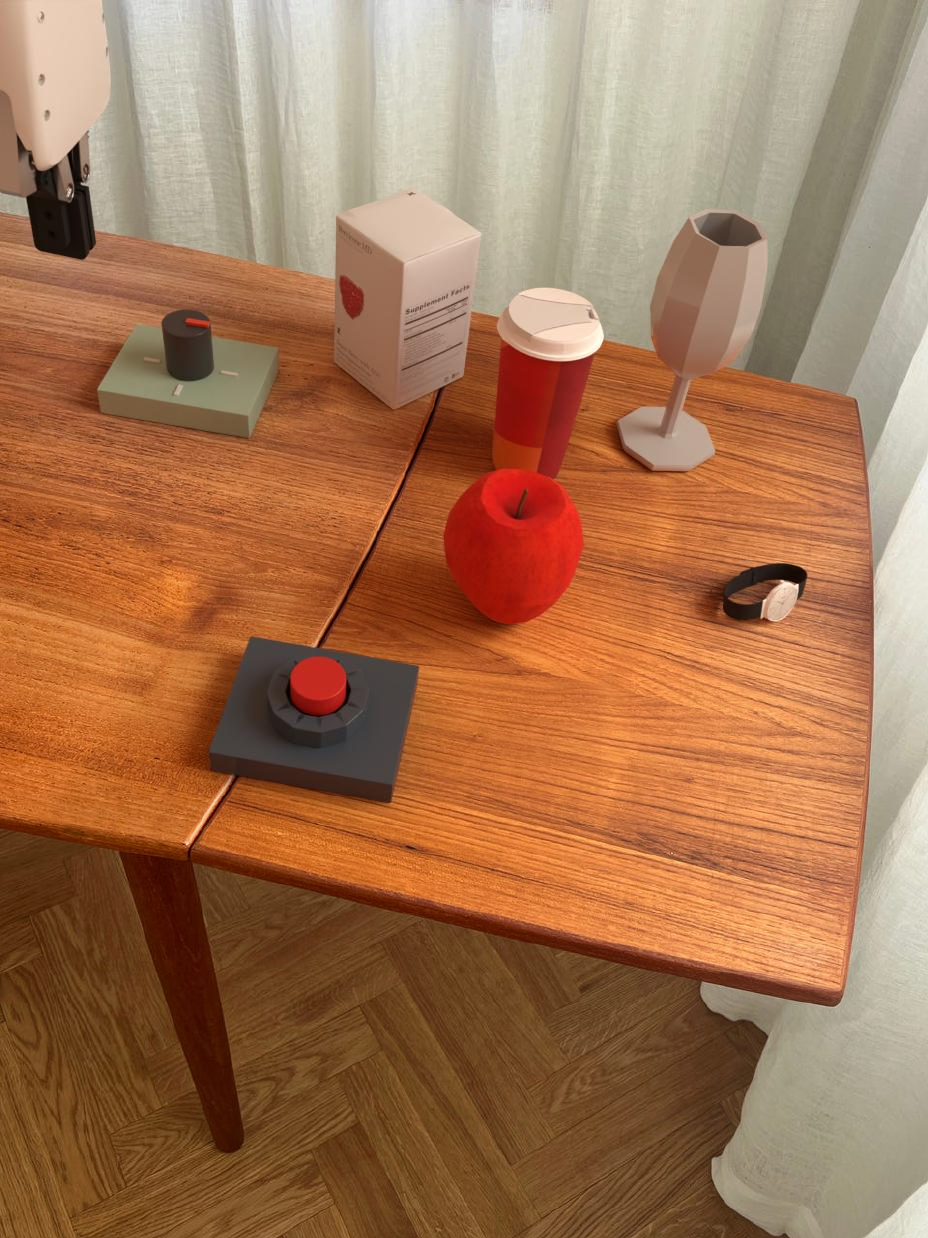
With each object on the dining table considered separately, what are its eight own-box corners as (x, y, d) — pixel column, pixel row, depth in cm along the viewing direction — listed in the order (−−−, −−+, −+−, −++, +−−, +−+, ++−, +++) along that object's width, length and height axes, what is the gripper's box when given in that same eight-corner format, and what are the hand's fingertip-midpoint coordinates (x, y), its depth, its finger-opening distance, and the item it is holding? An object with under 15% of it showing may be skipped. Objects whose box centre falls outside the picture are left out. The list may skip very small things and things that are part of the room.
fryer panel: (100, 413, 95) (96, 387, 93) (140, 346, 102) (136, 321, 100) (249, 438, 95) (248, 413, 93) (279, 370, 101) (278, 345, 99)
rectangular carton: (330, 362, 103) (331, 211, 92) (403, 330, 107) (413, 183, 96) (392, 413, 99) (402, 262, 88) (467, 378, 103) (484, 230, 92)
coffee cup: (561, 430, 100) (592, 282, 88) (583, 493, 94) (619, 344, 83) (469, 433, 98) (489, 283, 87) (486, 497, 93) (510, 346, 82)
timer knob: (160, 377, 95) (154, 329, 91) (174, 350, 98) (169, 302, 94) (206, 384, 95) (202, 336, 91) (219, 357, 98) (215, 310, 94)
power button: (284, 710, 72) (284, 694, 71) (298, 668, 74) (297, 651, 73) (339, 720, 72) (339, 704, 71) (350, 677, 74) (351, 661, 73)
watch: (742, 640, 85) (756, 608, 82) (702, 599, 87) (715, 567, 85) (814, 606, 88) (829, 574, 85) (773, 567, 91) (787, 536, 88)
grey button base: (210, 771, 73) (206, 735, 70) (251, 655, 79) (249, 618, 76) (391, 803, 72) (394, 769, 69) (417, 684, 79) (421, 648, 76)
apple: (410, 603, 84) (421, 482, 75) (493, 540, 89) (513, 420, 80) (511, 677, 80) (535, 559, 71) (591, 606, 86) (624, 488, 77)
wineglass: (646, 484, 96) (710, 266, 80) (598, 422, 101) (650, 206, 85) (730, 463, 99) (807, 249, 83) (679, 404, 104) (743, 192, 88)
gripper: (5, -151, 59) (55, 178, 72) (-142, -57, 49) (-52, 303, 63) (143, -122, 59) (167, 201, 72) (24, -22, 49) (78, 330, 63)
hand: (66, 248), depth 67 cm, fingers closed
